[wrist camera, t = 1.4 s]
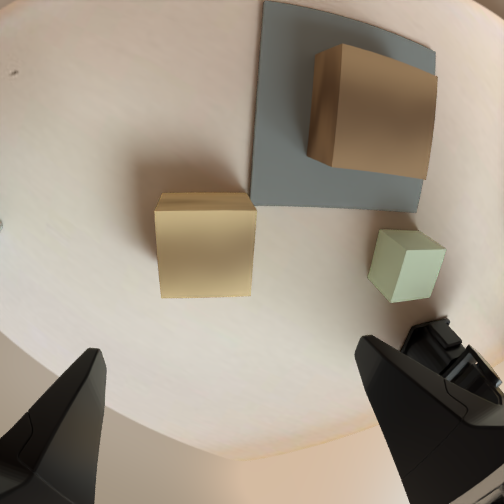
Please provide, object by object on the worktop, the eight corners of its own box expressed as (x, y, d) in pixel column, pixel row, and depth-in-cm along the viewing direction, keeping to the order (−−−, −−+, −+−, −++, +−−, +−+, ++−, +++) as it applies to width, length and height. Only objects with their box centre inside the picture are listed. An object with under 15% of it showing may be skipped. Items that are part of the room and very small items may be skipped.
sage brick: (405, 274, 26) (429, 297, 22) (366, 277, 25) (390, 303, 21) (417, 230, 24) (446, 249, 20) (378, 228, 23) (406, 250, 19)
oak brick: (241, 265, 22) (250, 295, 19) (166, 266, 21) (161, 298, 18) (245, 192, 20) (257, 210, 16) (162, 192, 19) (154, 211, 15)
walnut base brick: (392, 166, 20) (425, 179, 17) (306, 156, 19) (331, 167, 15) (401, 77, 17) (437, 76, 14) (315, 54, 16) (342, 43, 12)
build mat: (413, 211, 23) (416, 212, 22) (249, 203, 20) (250, 205, 20) (432, 52, 17) (435, 52, 16) (263, 2, 14) (264, 0, 14)
